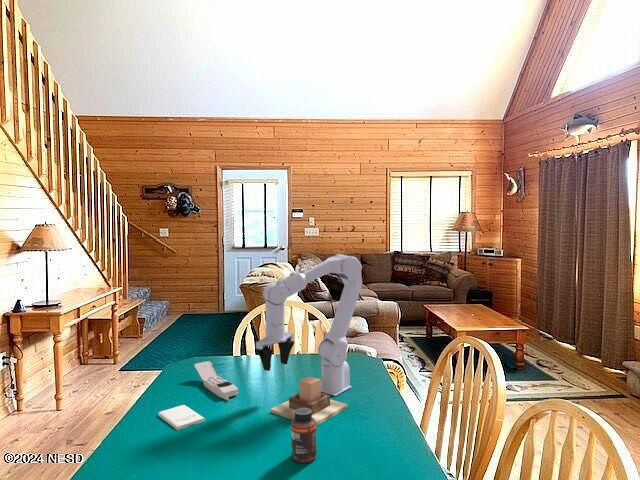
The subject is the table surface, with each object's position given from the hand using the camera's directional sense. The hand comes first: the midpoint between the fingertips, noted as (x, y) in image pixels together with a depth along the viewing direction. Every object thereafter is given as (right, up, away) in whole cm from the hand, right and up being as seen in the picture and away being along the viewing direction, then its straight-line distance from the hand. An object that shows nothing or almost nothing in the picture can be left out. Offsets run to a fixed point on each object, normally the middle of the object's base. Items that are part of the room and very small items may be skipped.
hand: (275, 366), depth 148 cm
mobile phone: (-20, -10, +11) cm, 25 cm away
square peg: (+11, -10, -7) cm, 16 cm away
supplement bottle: (+10, -13, -34) cm, 37 cm away
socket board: (+11, -11, -7) cm, 17 cm away
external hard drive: (-26, -12, -12) cm, 31 cm away
